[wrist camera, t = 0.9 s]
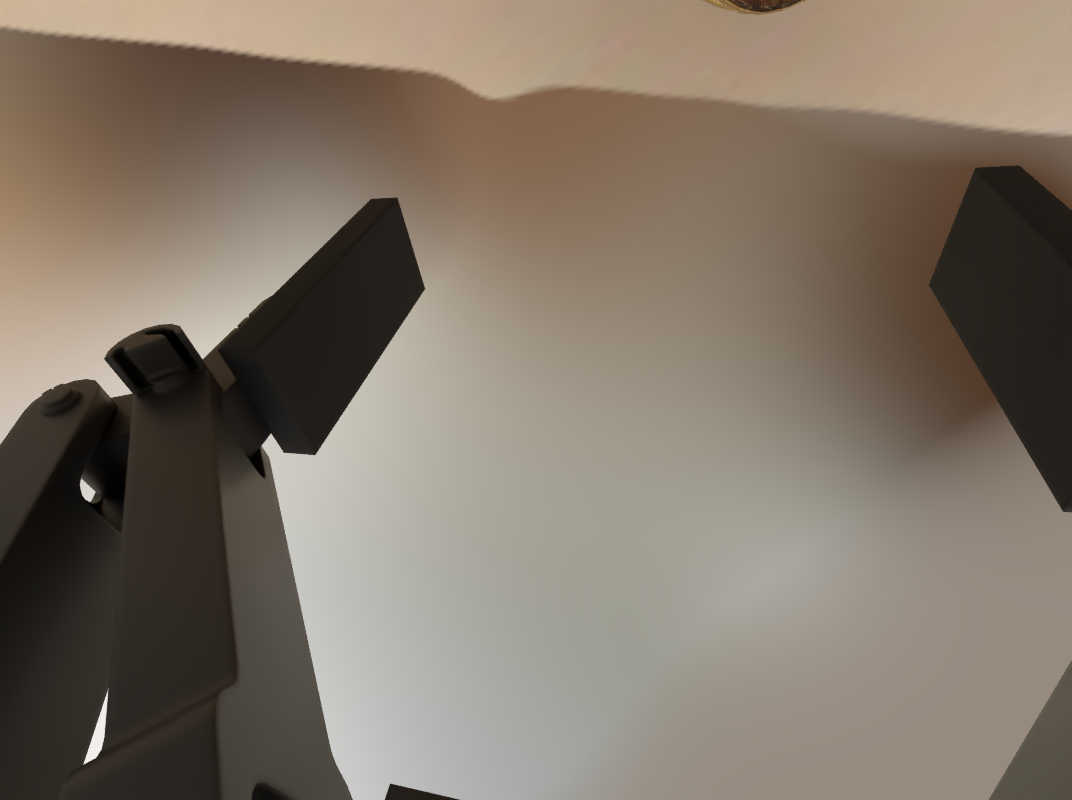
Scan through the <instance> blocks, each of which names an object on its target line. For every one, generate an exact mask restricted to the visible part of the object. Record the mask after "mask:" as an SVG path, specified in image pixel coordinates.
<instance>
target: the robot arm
mask: <svg viewBox="0 0 1072 800" xmlns="http://www.w3.org/2000/svg"><path fill="white" fill-rule="evenodd" d="M929 286H930V288H931V289H932V291H933V293H934V294H935V296H936V298H937V300H938V301H939V303H940V305H941V306H942V308H943V310H944V311H945V313H946V314H947V316H948V318H949V320H950V321H951V323H952V325H953V326H954V328H955V330H956V332H957V333H958V335H959V337H960V338H961V340H962V342H963V343H964V345H965V347H966V348H967V350H968V352H969V353H970V355H971V357H972V359H973V360H974V362H975V364H976V365H977V367H978V369H979V370H980V372H981V374H982V375H983V377H984V379H985V381H986V382H987V384H988V386H989V387H990V389H991V391H992V392H993V394H994V396H995V397H996V399H997V401H998V402H999V404H1000V406H1001V408H1002V409H1003V411H1004V413H1005V414H1006V416H1007V418H1008V419H1009V421H1010V423H1011V424H1012V426H1013V428H1014V430H1015V431H1016V433H1017V434H1018V436H1019V438H1020V440H1021V441H1022V443H1023V444H1024V446H1025V448H1026V450H1027V452H1028V453H1029V455H1030V456H1031V458H1032V460H1033V461H1034V463H1035V465H1036V467H1037V468H1038V470H1039V472H1040V473H1041V475H1042V477H1043V479H1044V480H1045V482H1046V484H1047V485H1048V487H1049V489H1050V490H1051V492H1052V494H1053V495H1054V497H1055V499H1056V500H1057V502H1058V504H1059V505H1060V507H1061V509H1062V510H1063V512H1072V211H1071V210H1070V209H1069V208H1068V207H1067V206H1066V205H1065V204H1063V203H1062V202H1061V201H1060V200H1059V199H1058V198H1056V197H1055V196H1054V195H1053V194H1052V193H1051V192H1049V191H1048V190H1047V189H1046V188H1045V187H1044V186H1042V185H1041V184H1040V183H1039V182H1038V181H1037V180H1035V179H1034V178H1033V177H1032V176H1031V175H1030V174H1028V173H1027V172H1026V171H1025V170H1024V169H1023V168H1021V167H1020V166H1001V167H983V168H975V170H974V172H973V175H972V178H971V180H970V183H969V185H968V188H967V190H966V193H965V195H964V198H963V200H962V203H961V205H960V208H959V210H958V213H957V215H956V218H955V221H954V223H953V226H952V228H951V231H950V233H949V236H948V238H947V241H946V243H945V246H944V248H943V251H942V253H941V256H940V258H939V261H938V263H937V266H936V268H935V271H934V274H933V276H932V279H931V281H930V284H929ZM424 290H425V287H424V284H423V281H422V277H421V274H420V271H419V267H418V264H417V261H416V258H415V254H414V251H413V248H412V245H411V241H410V238H409V235H408V231H407V228H406V225H405V222H404V218H403V215H402V212H401V208H400V205H399V202H398V198H381V199H371V200H370V201H369V202H368V203H367V204H366V205H365V206H364V207H363V208H362V209H361V210H360V211H358V212H357V213H356V214H355V215H354V216H353V217H352V219H350V220H349V221H348V222H347V223H346V224H345V225H344V226H343V227H342V228H341V229H340V230H339V231H338V232H337V233H336V234H335V235H334V236H333V237H332V238H331V239H330V240H329V241H328V242H327V243H326V244H325V245H324V246H323V247H322V248H321V249H320V250H319V251H318V252H317V253H316V254H314V255H313V256H312V258H311V259H309V260H308V262H306V263H305V264H304V265H303V266H302V267H301V268H300V269H299V270H298V271H297V272H296V273H295V274H294V275H293V276H292V277H291V278H290V279H289V280H288V281H287V282H286V283H285V284H284V285H283V286H282V287H281V288H280V289H279V290H278V291H277V292H276V293H275V294H274V295H273V296H271V297H269V298H267V299H266V300H264V301H263V302H262V303H260V304H259V305H258V306H257V307H256V308H255V309H254V310H253V311H252V312H251V313H250V314H249V317H247V318H245V319H244V320H243V321H242V322H241V323H240V324H239V325H238V328H235V329H234V330H233V331H232V332H231V333H229V335H228V336H227V337H225V338H224V339H223V340H222V341H221V342H220V343H219V344H218V345H217V346H216V347H215V348H214V349H213V350H212V351H211V352H210V353H209V354H208V355H207V356H206V357H205V358H204V359H203V360H202V358H201V357H200V355H199V354H198V352H197V351H196V349H195V348H194V346H193V345H192V343H191V342H190V340H189V339H188V338H187V336H186V335H185V333H184V332H183V330H182V329H181V327H180V326H177V325H173V324H164V325H157V326H153V327H149V328H145V329H143V330H141V331H138V332H136V333H134V334H131V335H130V336H128V337H126V338H124V339H123V340H121V341H120V342H118V343H117V344H116V345H115V346H113V347H112V348H111V349H110V350H109V351H108V353H107V355H106V357H105V358H104V359H105V361H106V362H107V363H108V364H109V365H110V367H111V368H112V369H113V370H114V371H115V373H116V374H117V375H118V376H119V377H120V379H121V380H122V381H123V382H124V383H125V384H126V386H127V387H128V388H129V389H130V391H131V392H132V393H133V394H129V395H124V396H118V397H113V398H110V397H109V395H108V394H107V393H106V392H105V391H104V390H103V389H102V388H101V386H100V385H99V384H98V383H97V382H96V381H95V380H89V379H85V380H78V381H73V382H70V383H67V384H60V385H58V386H56V387H54V389H53V390H52V389H49V390H48V391H46V392H44V393H43V394H42V396H41V397H39V398H38V399H36V400H35V401H34V402H32V403H31V404H30V405H29V407H28V408H27V409H26V410H25V411H24V412H23V413H22V415H21V417H20V418H19V419H18V421H17V422H16V423H15V425H14V426H13V428H12V429H11V431H10V432H9V433H8V435H7V436H6V438H5V439H4V441H3V442H2V443H1V445H0V800H353V799H352V797H351V794H350V792H349V789H348V786H347V784H346V782H345V780H344V779H343V777H342V775H341V773H340V771H339V769H338V767H337V765H336V763H335V760H334V758H333V755H332V752H331V748H330V744H329V739H328V735H327V730H326V725H325V720H324V715H323V711H322V706H321V701H320V697H319V692H318V687H317V682H316V678H315V673H314V668H313V663H312V659H311V654H310V649H309V644H308V640H307V635H306V630H305V626H304V621H303V616H302V611H301V606H300V602H299V597H298V592H297V588H296V583H295V578H294V573H293V568H292V564H291V559H290V554H289V550H288V545H287V540H286V535H285V530H284V526H283V522H282V516H281V511H280V507H279V502H278V497H277V493H276V488H275V483H274V478H273V474H272V469H271V464H270V459H269V457H268V455H267V454H266V452H265V451H264V449H263V448H262V444H263V443H264V442H265V440H266V439H267V438H268V436H269V435H270V433H272V435H273V437H274V438H275V440H276V441H277V443H278V444H279V446H280V447H281V449H282V450H283V452H284V453H296V454H309V455H315V454H316V453H317V451H318V450H319V448H320V447H321V445H322V444H323V442H324V441H325V439H326V438H327V436H328V435H329V433H330V432H331V430H332V429H333V427H334V425H335V424H336V423H337V421H338V420H339V418H340V416H341V415H342V414H343V412H344V411H345V409H346V408H347V406H348V404H349V403H350V401H351V400H352V398H353V397H354V395H355V394H356V392H357V391H358V389H359V388H360V386H361V385H362V383H363V382H364V380H365V379H366V377H367V376H368V374H369V373H370V371H371V370H372V368H373V367H374V365H375V364H376V362H377V361H378V359H379V358H380V356H381V355H382V353H383V351H384V350H385V348H386V347H387V345H388V344H389V343H390V341H391V340H392V338H393V337H394V335H395V333H396V332H397V330H398V329H399V327H400V326H401V324H402V323H403V321H404V320H405V318H406V317H407V315H408V314H409V312H410V311H411V309H412V308H413V306H414V305H415V303H416V302H417V300H418V299H419V297H420V296H421V294H422V292H423V291H424ZM81 478H82V479H83V480H84V481H85V482H86V483H87V484H88V485H89V486H90V487H91V488H92V489H93V490H94V491H95V492H96V493H95V495H94V497H93V499H92V501H91V502H88V501H87V500H85V499H84V497H83V496H82V493H81V489H80V480H81ZM108 688H109V690H108ZM107 691H108V702H107V714H106V726H105V738H104V742H103V746H102V750H101V751H100V753H99V754H98V756H97V757H96V759H93V760H92V761H90V762H88V763H86V764H84V761H85V757H86V754H87V752H88V748H89V745H90V742H91V739H92V736H93V733H94V730H95V727H96V724H97V721H98V718H99V715H100V712H101V709H102V706H103V703H104V700H105V697H106V693H107ZM83 764H84V765H83ZM385 800H458V799H454V798H450V797H446V796H441V795H437V794H432V793H428V792H424V791H419V790H415V789H411V788H406V787H402V786H398V785H394V784H390V786H389V789H388V792H387V795H386V798H385ZM989 800H1072V661H1071V663H1070V664H1069V666H1068V668H1067V669H1066V671H1065V673H1064V674H1063V676H1062V678H1061V679H1060V681H1059V683H1058V684H1057V686H1056V688H1055V689H1054V691H1053V693H1052V694H1051V696H1050V698H1049V700H1048V701H1047V703H1046V704H1045V706H1044V708H1043V710H1042V711H1041V713H1040V715H1039V716H1038V718H1037V720H1036V721H1035V723H1034V725H1033V726H1032V728H1031V730H1030V731H1029V733H1028V735H1027V736H1026V738H1025V740H1024V742H1023V743H1022V745H1021V746H1020V748H1019V750H1018V751H1017V753H1016V755H1015V757H1014V758H1013V760H1012V762H1011V763H1010V765H1009V767H1008V768H1007V770H1006V772H1005V773H1004V775H1003V777H1002V778H1001V780H1000V782H999V783H998V785H997V787H996V789H995V790H994V792H993V793H992V795H991V797H990V798H989Z"/></svg>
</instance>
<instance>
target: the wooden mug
mask: <svg viewBox="0 0 1072 800" xmlns="http://www.w3.org/2000/svg"><path fill="white" fill-rule="evenodd" d="M704 1H706V2H708V3H711V4H713V5H715V6H718V7H720V8H723V9H728V10H734V11H737V12H739V13H745V14H761V15H762V14H767V13H772V12H777V11H783V10H785V9H787V8H789V7H792V6H794V5H796V4H798V3H801V2H803V1H805V0H704Z"/></svg>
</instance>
